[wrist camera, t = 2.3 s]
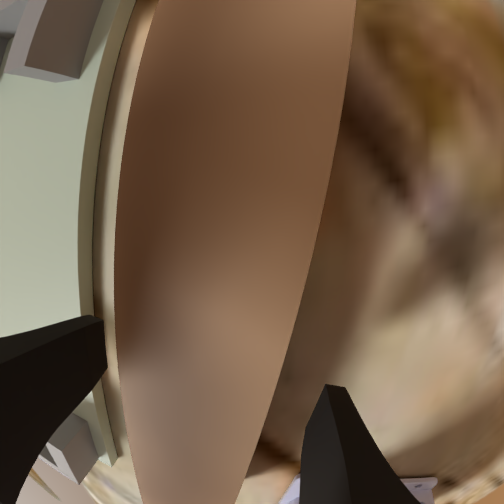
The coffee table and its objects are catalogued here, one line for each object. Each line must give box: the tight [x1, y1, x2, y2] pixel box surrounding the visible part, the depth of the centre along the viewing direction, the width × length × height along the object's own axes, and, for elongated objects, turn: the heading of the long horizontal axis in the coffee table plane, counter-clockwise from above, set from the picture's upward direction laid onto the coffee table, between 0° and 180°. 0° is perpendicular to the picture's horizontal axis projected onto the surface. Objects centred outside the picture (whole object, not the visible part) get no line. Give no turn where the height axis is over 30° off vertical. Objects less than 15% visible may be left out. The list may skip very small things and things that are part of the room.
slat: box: [114, 0, 356, 504], centre depth 9 cm, size 4×22×5 cm, turn 170°
